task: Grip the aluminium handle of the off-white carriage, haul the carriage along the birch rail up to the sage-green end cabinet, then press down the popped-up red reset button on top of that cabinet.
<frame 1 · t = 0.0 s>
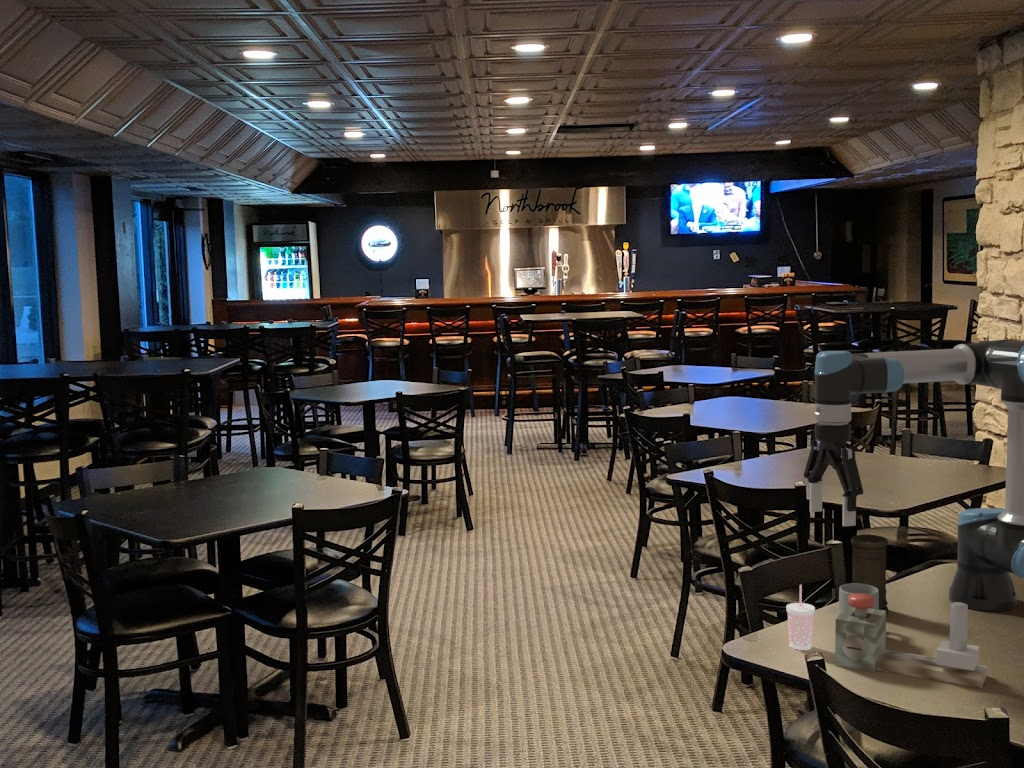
hand: (831, 518, 226), 28 cm above the table, tool pointing down, fingers open, 13 cm apart
rail rig: (910, 669, 212), on the table
mug: (861, 634, 233), on the table
beverage cup: (800, 647, 226), on the table
reset button: (861, 609, 216), point 11 cm above the table, slide at 0.0 cm
container: (868, 612, 248), on the table
carriage: (958, 633, 207), point 9 cm above the table, slide at 0.0 cm
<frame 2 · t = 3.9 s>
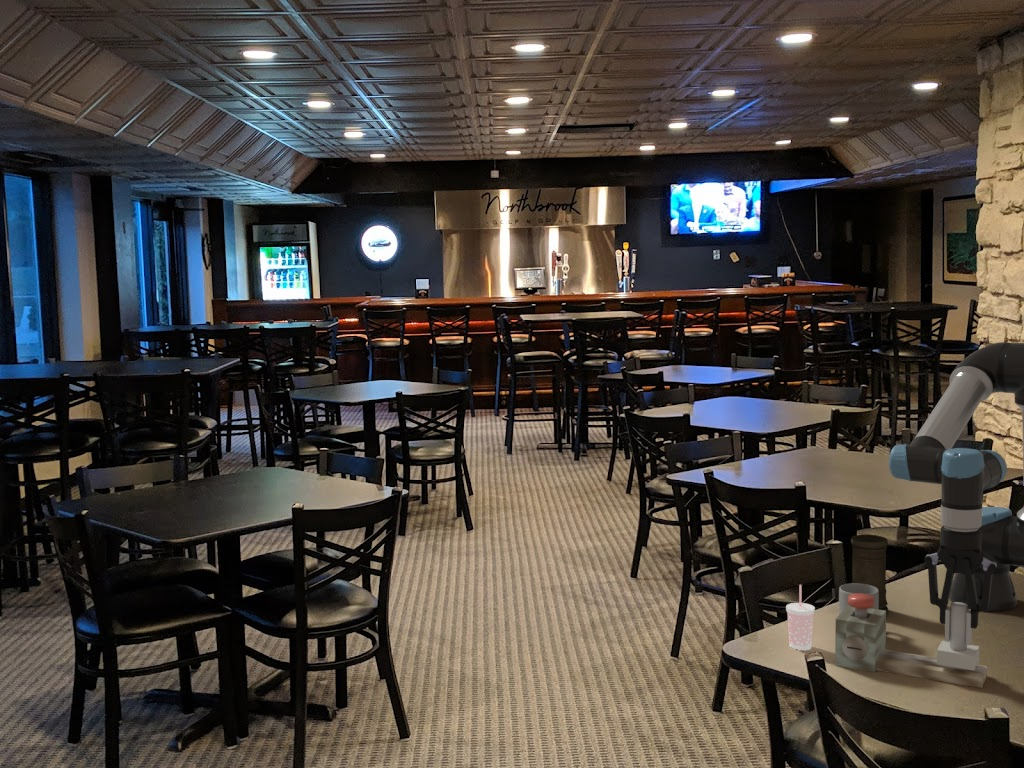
hand: (958, 641, 207), 8 cm above the table, tool pointing down, fingers closed on carriage, 3 cm apart
carriage: (958, 633, 207), point 9 cm above the table, slide at 0.0 cm, touching gripper
everything else where it was.
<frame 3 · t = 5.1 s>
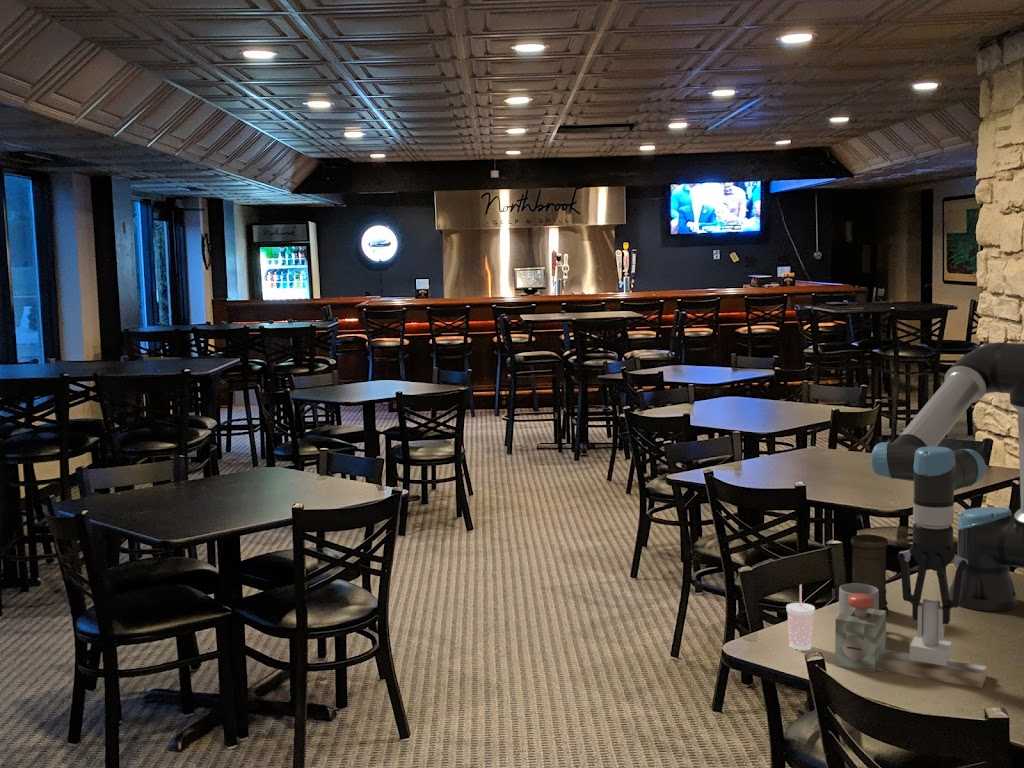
hand: (930, 636, 210), 8 cm above the table, tool pointing down, fingers closed on carriage, 3 cm apart
carriage: (930, 629, 209), point 9 cm above the table, slide at 5.2 cm, touching gripper
everything else where it was.
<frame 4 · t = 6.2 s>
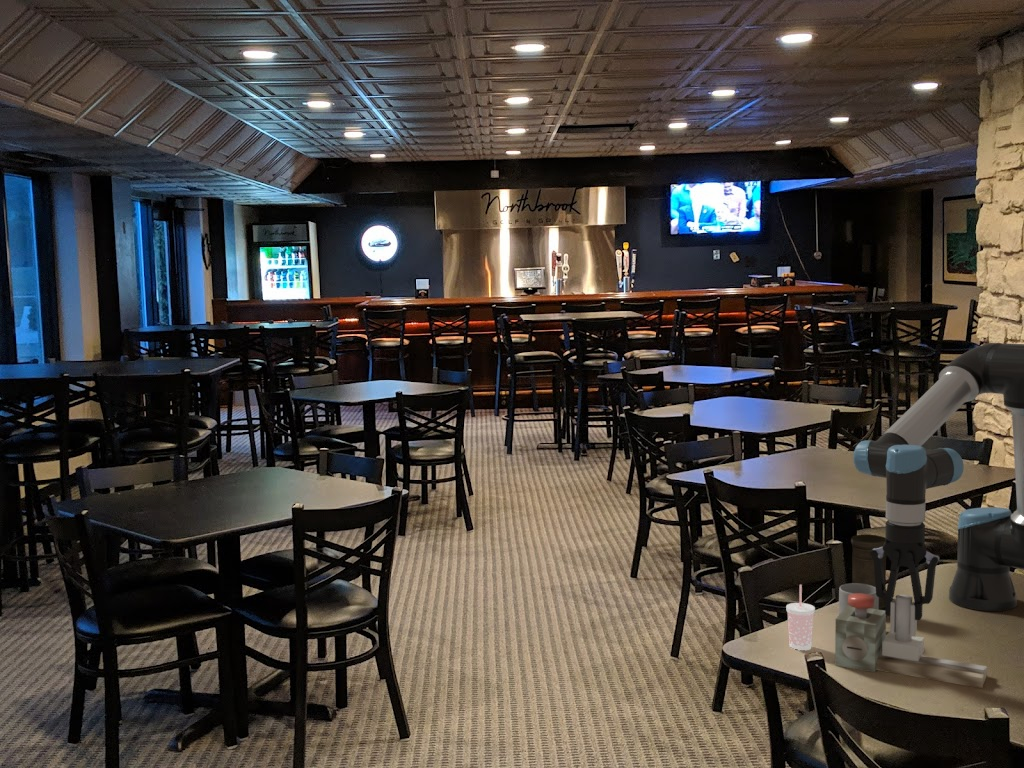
hand: (903, 632, 212), 8 cm above the table, tool pointing down, fingers closed on carriage, 3 cm apart
carriage: (903, 625, 212), point 9 cm above the table, slide at 10.5 cm, touching gripper
everything else where it was.
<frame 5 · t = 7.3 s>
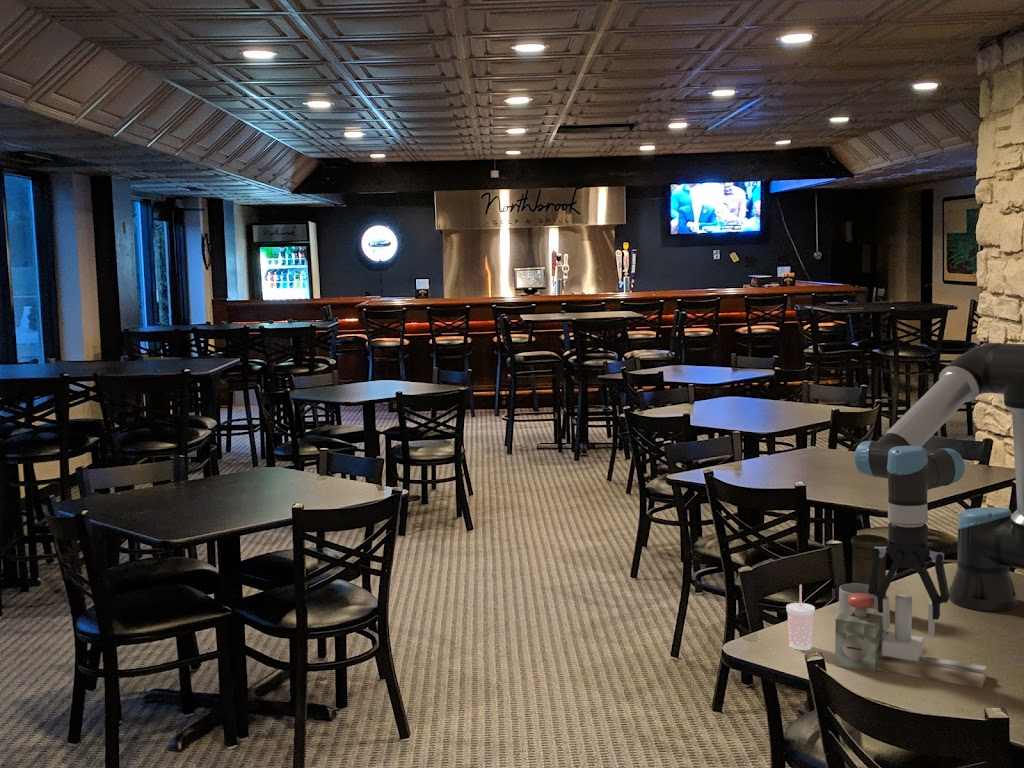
hand: (908, 630, 212), 8 cm above the table, tool pointing down, fingers open, 8 cm apart
reset button: (861, 609, 216), point 11 cm above the table, slide at 0.0 cm, touching gripper
carriage: (903, 625, 212), point 9 cm above the table, slide at 10.5 cm
everything else where it was.
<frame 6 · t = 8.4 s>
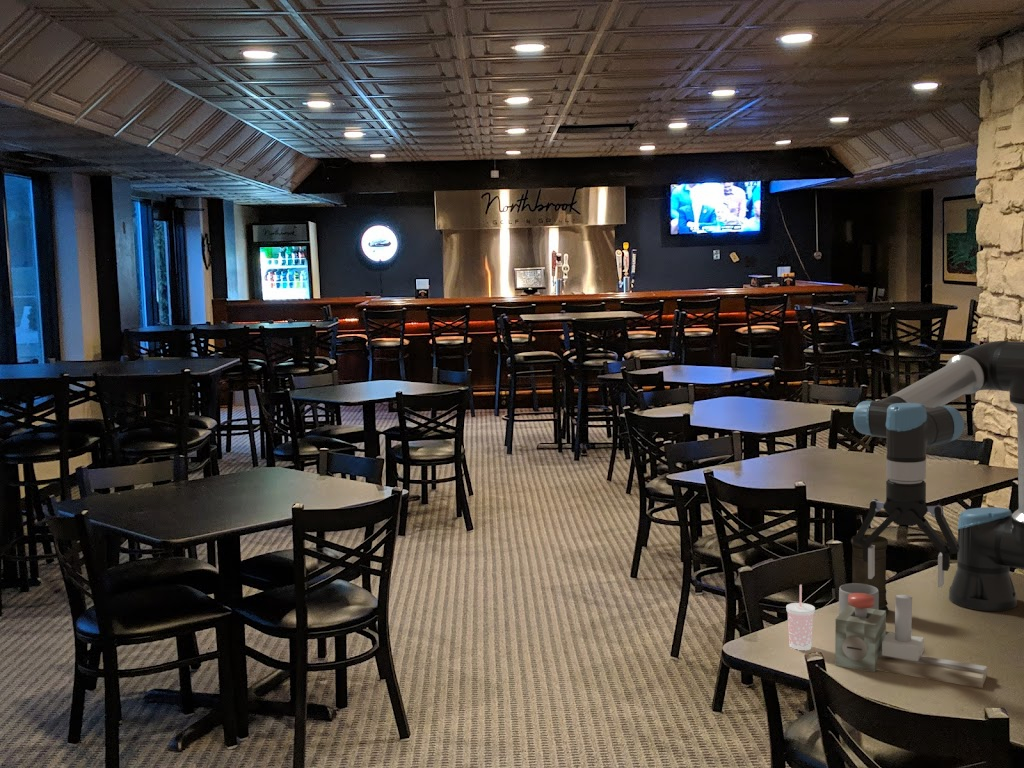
hand: (905, 581, 211), 18 cm above the table, tool pointing down, fingers open, 13 cm apart
reset button: (861, 609, 216), point 11 cm above the table, slide at -0.1 cm
everything else where it was.
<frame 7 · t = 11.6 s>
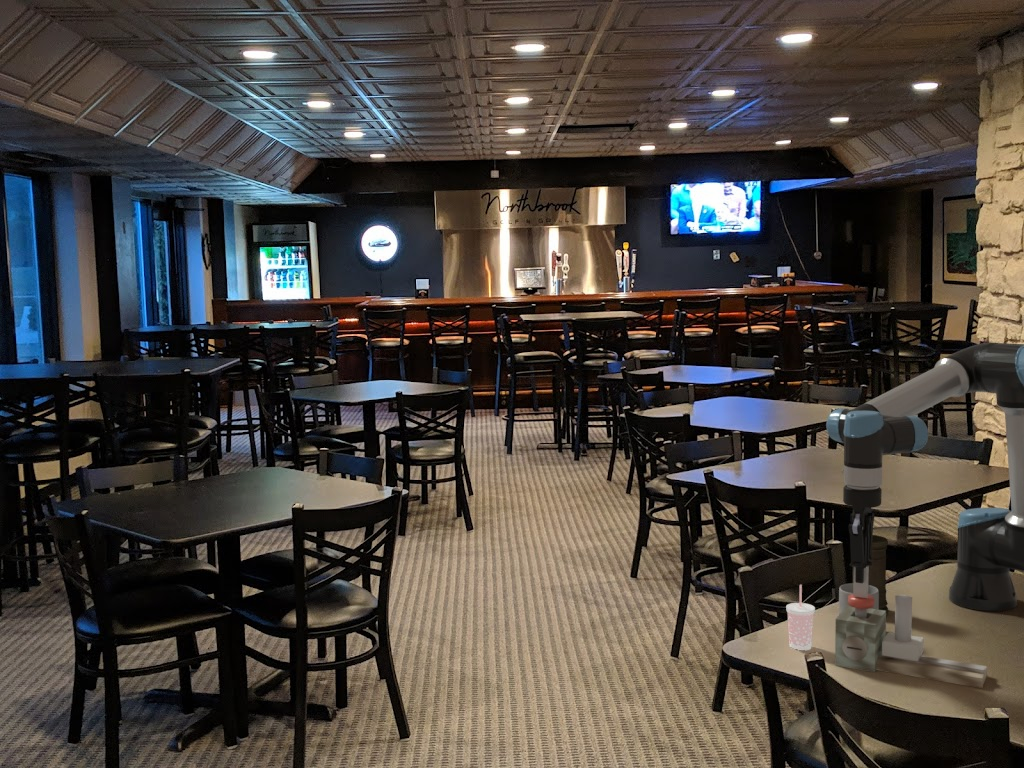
hand: (860, 596, 216), 14 cm above the table, tool pointing down, fingers closed
reset button: (861, 610, 216), point 11 cm above the table, slide at 0.0 cm, touching gripper
everything else where it was.
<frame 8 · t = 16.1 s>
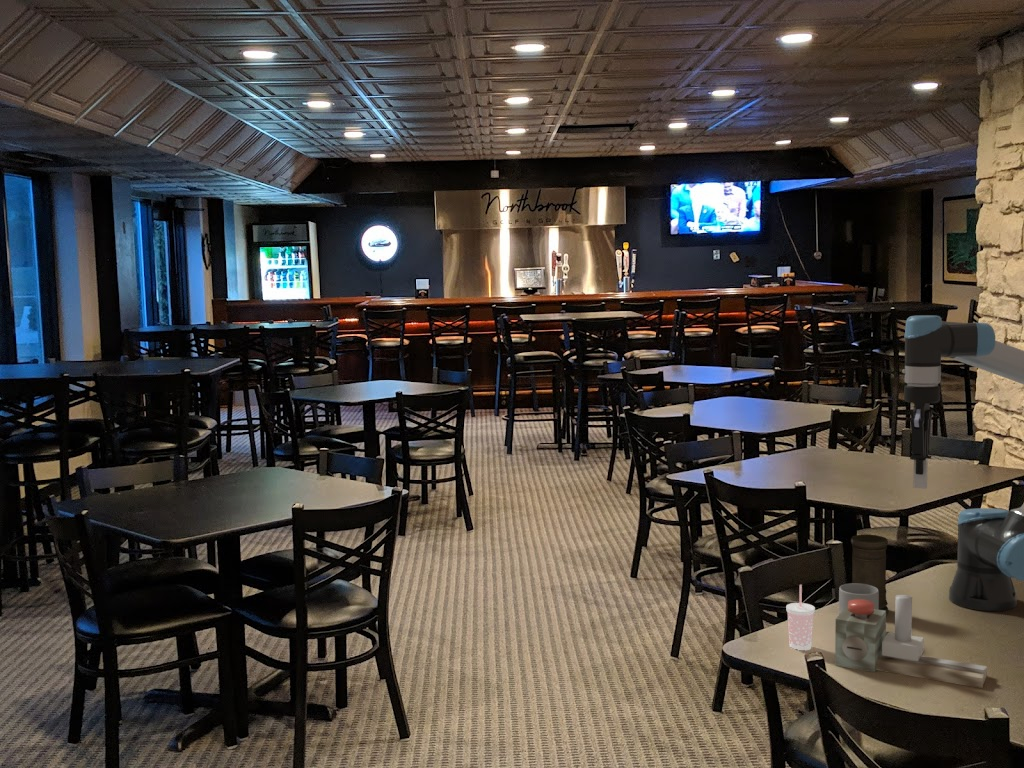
hand: (920, 487, 234), 32 cm above the table, tool pointing down, fingers closed
reset button: (861, 615, 217), point 10 cm above the table, slide at 1.3 cm
everything else where it was.
at the end: carriage slide at 10.5 cm; reset button slide at 1.3 cm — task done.
